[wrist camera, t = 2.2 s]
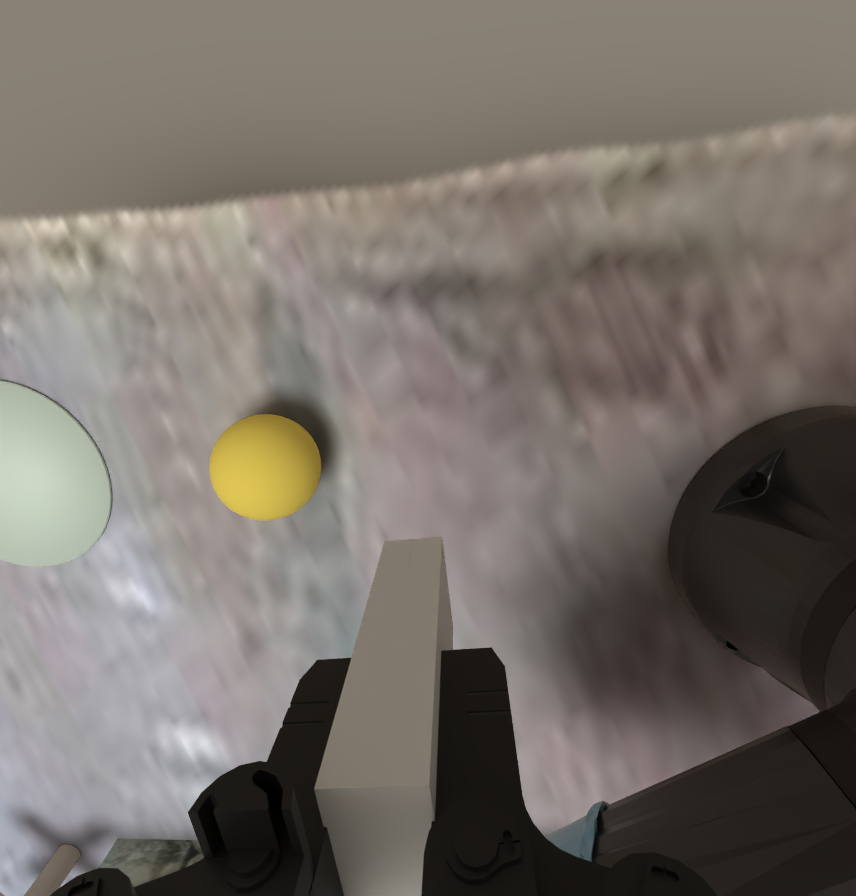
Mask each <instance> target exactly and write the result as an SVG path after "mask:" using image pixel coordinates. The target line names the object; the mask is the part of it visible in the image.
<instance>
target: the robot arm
mask: <svg viewBox="0 0 856 896" xmlns="http://www.w3.org/2000/svg"><path fill="white" fill-rule="evenodd" d="M669 564H670V569H671V574H672V577H673V580H674V583H675V585H676V588H677V590H678V592H679V594H680V596H681V597H682V599H683V600H684V602H685V603H686V605H687V606H688V607H689V609H690V610H691V611H692V613H693V614H694V615H695V617H696V618H697V619H698V620H699V622H700V623H701V624H702V626H703V627H704V628H705V629H706V630H707V632H708V633H709V634H710V635H711V636H712V637H714V638H715V639H716V640H717V641H718V642H719V643H720V644H721V645H723V646H724V647H725V648H726V649H728V650H729V651H731V652H732V653H734V654H735V655H737V656H739V657H741V658H742V659H744V660H746V661H748V662H750V663H752V664H754V665H757V666H759V667H762V668H764V669H765V670H766V671H767V672H768V673H769V674H770V675H771V676H773V677H774V678H775V679H776V680H778V681H779V682H781V683H782V684H784V685H785V686H786V687H788V688H790V689H791V690H793V691H794V692H796V693H797V694H799V695H800V696H802V697H804V698H805V699H807V700H808V701H810V702H811V703H813V704H814V706H815V707H816V708H817V709H818V710H819V711H820V712H819V713H817V714H815V715H813V716H811V717H808V718H806V719H804V720H802V721H799V722H797V723H795V724H793V725H790V726H788V727H787V726H786V727H784V728H782V729H779V730H777V731H775V732H773V733H770V734H768V735H766V736H763V737H761V738H759V739H757V740H754V741H752V742H750V743H748V744H745V745H743V746H741V747H739V748H736V749H734V750H732V751H730V752H727V753H725V754H723V755H721V756H718V757H716V758H714V759H712V760H709V761H707V762H705V763H703V764H700V765H698V766H696V767H693V768H691V769H689V770H687V771H684V772H682V773H680V774H678V775H675V776H673V777H671V778H669V779H666V780H664V781H662V782H660V783H657V784H655V785H653V786H651V787H648V788H646V789H644V790H642V791H639V792H637V793H635V794H633V795H630V796H628V797H626V798H624V799H621V800H619V801H617V802H614V803H612V804H610V805H609V804H608V803H606V802H604V801H601V802H598V803H596V804H594V805H593V806H592V807H591V809H590V810H589V812H588V814H587V815H586V816H584V817H582V818H581V819H579V820H577V821H575V822H573V823H571V824H569V825H567V826H566V827H564V828H562V829H560V830H558V831H556V832H554V833H552V834H550V835H549V836H547V837H544V836H543V834H542V833H541V832H540V831H539V830H538V829H537V827H536V826H535V825H534V824H533V822H532V820H531V818H530V816H529V814H528V812H527V810H526V807H525V804H524V800H523V796H522V790H521V783H520V775H519V768H518V760H517V753H516V746H515V738H514V731H513V724H512V716H511V709H510V701H509V694H508V687H507V679H506V672H505V666H504V665H503V663H502V662H501V660H500V659H499V658H498V656H497V655H496V653H495V652H494V650H493V649H492V648H477V649H461V650H453V622H452V614H451V606H450V598H449V590H448V581H447V573H446V565H445V557H444V549H443V541H442V537H433V538H421V539H409V540H396V541H385V542H384V545H383V549H382V552H381V556H380V559H379V563H378V566H377V570H376V573H375V577H374V581H373V584H372V588H371V591H370V595H369V598H368V602H367V605H366V609H365V612H364V616H363V619H362V623H361V626H360V630H359V633H358V637H357V640H356V644H355V647H354V651H353V654H352V658H342V659H325V660H317V661H316V662H315V663H314V665H313V666H312V667H311V668H310V669H309V670H308V671H307V672H306V674H305V675H304V676H303V677H302V678H301V679H300V681H299V683H298V686H297V688H296V691H295V693H294V696H293V698H292V701H291V703H290V704H291V706H290V708H288V710H287V713H286V715H285V718H284V720H283V726H282V728H280V730H279V733H278V735H277V738H276V740H275V743H274V745H273V748H272V750H271V753H270V755H269V758H268V760H267V762H261V761H258V762H254V763H249V764H245V765H240V766H238V767H236V768H234V769H233V770H231V771H229V772H227V773H225V774H223V775H221V776H220V777H219V778H218V779H216V780H215V781H214V782H213V783H212V784H211V785H210V786H209V787H207V788H206V789H205V790H204V791H203V792H202V793H201V794H200V796H199V797H198V799H197V800H196V802H195V803H194V805H193V806H192V807H191V809H190V810H189V812H188V814H189V817H190V820H191V823H192V825H193V828H194V831H195V833H196V836H197V839H198V842H199V844H200V847H201V850H202V853H203V855H204V858H203V859H202V860H200V861H198V862H196V863H194V864H192V865H190V866H188V867H186V868H183V869H181V870H178V871H175V872H173V873H170V874H167V875H165V876H162V877H160V878H157V879H154V880H152V881H149V882H146V883H144V884H141V885H139V886H136V887H133V885H132V883H131V880H130V878H129V877H128V876H127V875H126V874H124V873H123V872H122V871H121V870H119V869H118V868H98V869H95V870H92V871H90V872H87V873H84V874H82V875H79V876H77V877H75V878H74V879H72V880H71V881H69V882H68V883H66V884H65V885H63V886H62V887H60V888H59V889H57V890H56V891H54V892H53V893H52V894H51V895H50V896H856V407H846V406H831V407H819V408H812V409H806V410H801V411H797V412H793V413H790V414H786V415H783V416H780V417H777V418H775V419H772V420H770V421H767V422H765V423H763V424H761V425H759V426H757V427H755V428H753V429H751V430H749V431H748V432H746V433H744V434H743V435H741V436H739V437H738V438H736V439H735V440H733V441H732V442H731V443H729V444H728V445H727V446H725V447H724V448H723V449H722V450H721V451H719V452H718V453H717V454H716V455H715V456H714V457H713V458H712V459H711V460H710V461H709V462H708V463H707V464H706V465H705V466H704V467H703V468H702V469H701V470H700V472H699V473H698V474H697V475H696V477H695V478H694V479H693V481H692V482H691V484H690V485H689V487H688V488H687V490H686V492H685V493H684V495H683V497H682V499H681V501H680V503H679V505H678V508H677V510H676V513H675V516H674V519H673V522H672V526H671V531H670V537H669Z"/></svg>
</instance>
